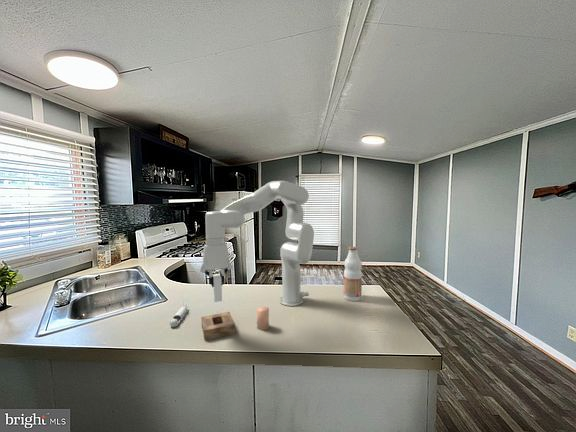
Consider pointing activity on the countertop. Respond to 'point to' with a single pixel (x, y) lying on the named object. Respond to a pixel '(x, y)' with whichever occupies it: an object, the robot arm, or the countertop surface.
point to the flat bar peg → (217, 288)
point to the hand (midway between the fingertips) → (216, 284)
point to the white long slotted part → (179, 316)
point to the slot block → (217, 325)
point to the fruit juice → (352, 276)
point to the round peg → (263, 318)
